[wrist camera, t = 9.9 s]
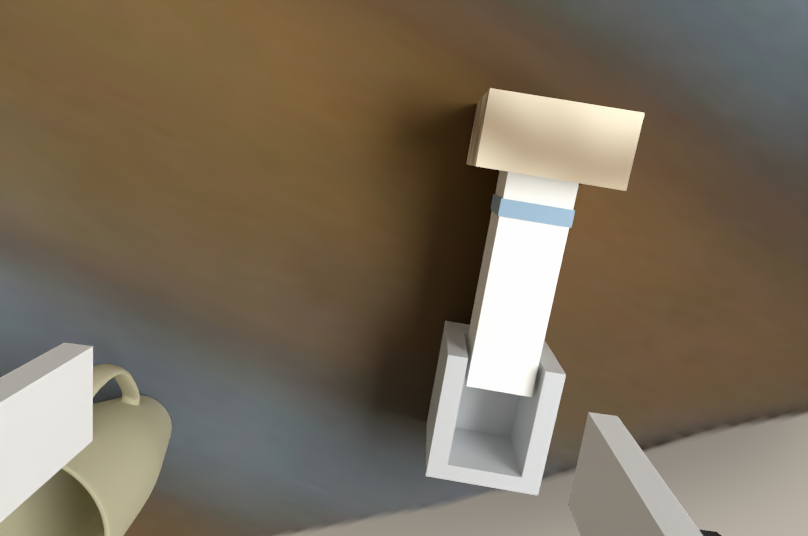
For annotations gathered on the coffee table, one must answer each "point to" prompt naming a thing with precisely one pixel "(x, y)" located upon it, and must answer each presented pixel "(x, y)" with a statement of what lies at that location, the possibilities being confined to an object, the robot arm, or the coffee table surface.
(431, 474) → the sleeve
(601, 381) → the coffee table surface
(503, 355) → the blue-banded white bar
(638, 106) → the coffee table surface
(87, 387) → the robot arm
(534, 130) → the beige block
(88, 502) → the mug
